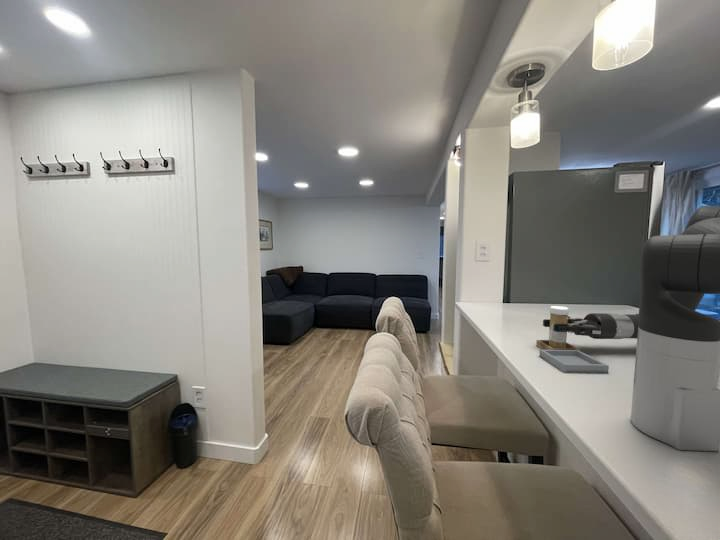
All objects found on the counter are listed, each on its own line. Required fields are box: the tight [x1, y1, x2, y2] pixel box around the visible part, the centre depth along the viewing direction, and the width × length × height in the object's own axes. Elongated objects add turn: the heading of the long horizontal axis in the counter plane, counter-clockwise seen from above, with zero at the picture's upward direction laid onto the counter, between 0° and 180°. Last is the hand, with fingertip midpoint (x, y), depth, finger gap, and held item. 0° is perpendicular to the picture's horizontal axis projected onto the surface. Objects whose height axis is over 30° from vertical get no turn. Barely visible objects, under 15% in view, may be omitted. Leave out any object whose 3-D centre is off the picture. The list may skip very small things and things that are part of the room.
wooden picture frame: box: [535, 339, 581, 351], centre depth 85 cm, size 8×8×2 cm
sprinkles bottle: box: [548, 305, 570, 348], centre depth 85 cm, size 5×5×14 cm
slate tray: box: [539, 349, 610, 374], centre depth 76 cm, size 11×11×2 cm
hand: (549, 325), depth 85 cm, fingers open, 4 cm apart
